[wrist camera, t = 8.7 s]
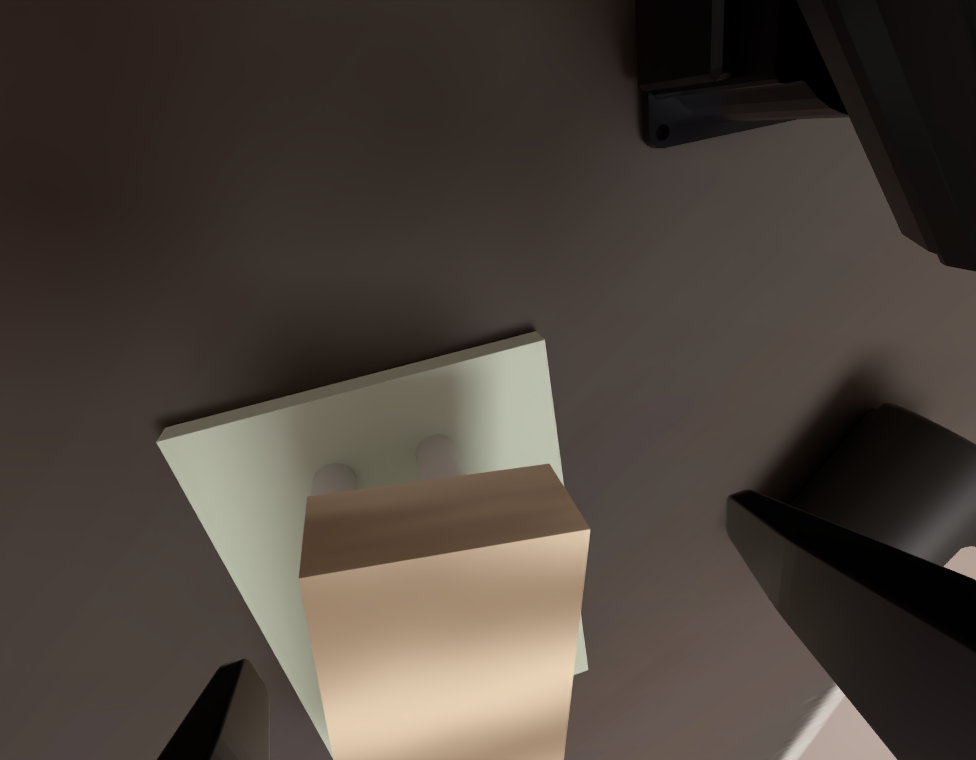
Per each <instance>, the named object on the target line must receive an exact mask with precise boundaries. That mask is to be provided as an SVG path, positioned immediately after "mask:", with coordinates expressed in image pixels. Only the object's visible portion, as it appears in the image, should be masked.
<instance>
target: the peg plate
mask: <svg viewBox="0 0 976 760" xmlns="http://www.w3.org/2000/svg"><path fill="white" fill-rule="evenodd" d="M157 444H158V446H159V448H160V450H161V451H162V453H163V455H164V457H165V459H166V460H167V462H168V464H169V466H170V467H171V469H172V471H173V473H174V475H175V476H176V478H177V480H178V482H179V484H180V485H181V487H182V489H183V491H184V493H185V494H186V496H187V498H188V500H189V502H190V503H191V505H192V507H193V509H194V510H195V512H196V514H197V516H198V518H199V519H200V521H201V523H202V525H203V527H204V528H205V530H206V532H207V534H208V536H209V537H210V539H211V541H212V543H213V544H214V546H215V548H216V550H217V552H218V553H219V555H220V557H221V559H222V561H223V562H224V564H225V566H226V568H227V570H228V571H229V573H230V575H231V577H232V579H233V580H234V582H235V584H236V586H237V587H238V589H239V591H240V593H241V595H242V596H243V598H244V600H245V602H246V604H247V605H248V607H249V609H250V611H251V613H252V614H253V616H254V618H255V620H256V621H257V623H258V625H259V627H260V629H261V630H262V632H263V634H264V636H265V638H266V639H267V641H268V643H269V645H270V647H271V648H272V650H273V652H274V654H275V656H276V657H277V659H278V661H279V663H280V664H281V666H282V668H283V670H284V672H285V673H286V675H287V677H288V679H289V681H290V682H291V684H292V686H293V688H294V690H295V691H296V693H297V695H298V697H299V698H300V700H301V702H302V704H303V706H304V707H305V709H306V711H307V713H308V715H309V716H310V718H311V720H312V722H313V724H314V725H315V727H316V729H317V731H318V733H319V734H320V736H321V738H322V740H323V741H324V743H325V745H326V747H327V749H328V750H329V752H330V754H331V756H332V758H333V755H332V750H331V745H330V740H329V734H328V729H327V724H326V719H325V714H324V708H323V703H322V698H321V693H320V687H319V682H318V677H317V672H316V667H315V661H314V656H313V651H312V646H311V641H310V635H309V630H308V625H307V620H306V615H305V609H304V604H303V599H302V594H301V589H300V583H299V570H300V560H301V551H302V541H303V531H304V522H305V512H306V503H307V497H308V496H315V495H322V494H330V493H337V492H344V491H352V490H359V489H366V488H374V487H381V486H388V485H396V484H403V483H410V482H418V481H425V480H432V479H439V478H447V477H454V476H461V475H469V474H476V473H483V472H491V471H498V470H505V469H513V468H520V467H527V466H535V465H542V464H550V465H551V467H552V468H553V470H554V472H555V473H556V475H557V476H558V478H559V480H560V481H561V483H562V484H563V486H564V483H563V475H562V467H561V460H560V452H559V445H558V437H557V429H556V422H555V414H554V407H553V399H552V391H551V384H550V376H549V369H548V361H547V354H546V346H545V340H544V339H543V338H542V337H541V336H540V335H539V334H538V333H537V332H536V331H535V332H531V333H527V334H523V335H519V336H516V337H512V338H508V339H504V340H500V341H496V342H493V343H489V344H485V345H481V346H477V347H473V348H469V349H466V350H462V351H458V352H454V353H450V354H446V355H443V356H439V357H435V358H431V359H427V360H423V361H419V362H416V363H412V364H408V365H404V366H400V367H396V368H393V369H389V370H385V371H381V372H377V373H373V374H370V375H366V376H362V377H358V378H354V379H350V380H346V381H343V382H339V383H335V384H331V385H327V386H323V387H320V388H316V389H312V390H308V391H304V392H300V393H296V394H293V395H289V396H285V397H281V398H277V399H273V400H270V401H266V402H262V403H258V404H254V405H250V406H247V407H243V408H239V409H235V410H231V411H227V412H223V413H220V414H216V415H212V416H208V417H204V418H200V419H197V420H193V421H189V422H185V423H181V424H177V425H173V426H170V427H166V428H165V429H164V430H163V432H162V434H161V435H160V437H159V439H158V440H157ZM586 670H588V665H587V657H586V650H585V642H584V634H583V627H582V619H581V614H580V623H579V631H578V640H577V649H576V657H575V666H574V674H573V675H575V674H578V673H581V672H584V671H586Z"/></svg>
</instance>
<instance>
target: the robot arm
mask: <svg viewBox="0 0 976 760" xmlns="http://www.w3.org/2000/svg"><path fill="white" fill-rule="evenodd" d="M635 14H636V43H637V72H638V85H639V86H640V88H641V89H642V101H643V133H644V140H645V142H646V144H647V145H648V146H650V147H651V148H666V147H671V146H675V145H680V144H685V143H689V142H694V141H699V140H703V139H708V138H712V137H717V136H722V135H726V134H731V133H736V132H740V131H745V130H750V129H754V128H759V127H764V126H768V125H773V124H777V123H782V122H787V121H791V120H796V119H811V118H838V117H850V120H851V122H852V124H853V126H854V129H855V131H856V133H857V135H858V137H859V140H860V142H861V144H862V146H863V148H864V151H865V153H866V155H867V157H868V159H869V162H870V164H871V166H872V168H873V171H874V173H875V175H876V177H877V179H878V182H879V184H880V186H881V188H882V190H883V193H884V195H885V197H886V199H887V202H888V204H889V206H890V208H891V210H892V213H893V215H894V217H895V219H896V221H897V224H898V226H899V228H900V230H901V232H902V234H903V235H905V236H906V237H908V238H909V239H911V240H912V241H914V242H915V243H917V244H918V245H920V246H921V247H923V248H925V249H926V250H928V251H929V252H932V253H935V254H937V255H938V258H939V260H940V262H941V263H942V264H944V265H946V266H950V267H956V268H961V269H966V270H971V271H976V0H635ZM660 125H661V126H662V128H663V135H662V137H661V138H660V139H658V138H657V137H656V131H657V128H658V127H659V126H660ZM726 531H727V534H728V536H729V538H730V540H731V542H732V543H733V545H734V546H735V548H736V549H737V551H738V552H739V554H740V555H741V557H742V558H743V560H744V561H745V563H746V564H747V566H748V567H749V569H750V570H751V572H752V573H753V575H754V577H755V578H756V580H757V581H758V583H759V584H760V586H761V587H762V589H763V590H764V592H765V593H766V595H767V596H768V598H769V599H770V601H771V602H772V604H773V605H774V606H775V608H776V609H777V611H778V612H779V613H780V615H781V616H782V617H783V619H784V620H785V621H786V622H787V624H788V625H789V626H790V627H791V629H792V630H793V631H794V632H795V634H796V635H797V636H798V637H799V639H800V640H801V641H802V642H803V643H804V645H805V646H806V647H807V648H808V650H809V651H810V652H811V653H812V655H813V656H814V657H815V658H816V660H817V661H818V662H819V663H820V665H821V666H822V667H823V668H824V669H825V671H826V672H827V673H828V674H829V676H830V677H831V678H832V679H833V681H834V682H835V683H836V684H837V686H838V687H839V688H840V689H841V691H842V692H843V693H844V694H845V695H846V697H847V698H848V699H849V700H850V701H851V703H852V704H853V705H854V707H855V708H856V709H857V710H858V712H859V713H860V714H861V715H862V716H863V718H864V719H865V720H866V721H867V723H868V724H869V725H870V726H871V728H872V729H873V730H874V731H875V733H876V734H877V735H878V736H879V737H880V739H881V740H882V741H883V742H884V744H885V745H886V746H887V747H888V749H889V750H890V751H891V752H892V754H893V755H894V756H895V757H896V759H897V760H976V580H975V579H972V578H970V577H967V576H965V575H962V574H960V573H957V572H955V571H952V570H950V569H947V568H945V567H942V566H940V565H937V564H935V563H932V562H930V561H927V560H925V559H922V558H920V557H917V556H915V555H912V554H910V553H907V552H905V551H902V550H900V549H897V548H895V547H892V546H890V545H887V544H885V543H882V542H880V541H877V540H875V539H872V538H870V537H867V536H865V535H862V534H860V533H857V532H855V531H852V530H850V529H847V528H845V527H842V526H840V525H837V524H835V523H832V522H830V521H827V520H825V519H822V518H820V517H817V516H815V515H812V514H810V513H807V512H805V511H802V510H800V509H797V508H795V507H792V506H790V505H787V504H785V503H782V502H780V501H777V500H775V499H772V498H770V497H767V496H765V495H762V494H760V493H757V492H755V491H752V490H743V491H740V492H737V493H734V494H731V495H729V496H728V498H727V501H726ZM157 760H269V693H268V689H267V686H266V684H265V682H264V681H263V679H262V678H261V676H260V675H259V673H258V672H257V670H256V669H255V667H254V666H253V664H252V663H251V661H250V660H249V659H247V658H241V659H238V660H235V661H232V662H229V663H226V664H224V665H222V666H221V667H220V668H219V669H218V670H217V671H216V673H215V674H214V676H213V677H212V679H211V680H210V682H209V683H208V684H207V686H206V687H205V689H204V690H203V692H202V693H201V695H200V696H199V698H198V699H197V701H196V702H195V704H194V705H193V707H192V708H191V710H190V711H189V713H188V714H187V716H186V717H185V719H184V720H183V721H182V723H181V724H180V726H179V727H178V729H177V730H176V732H175V733H174V735H173V736H172V738H171V739H170V741H169V742H168V744H167V745H166V747H165V748H164V750H163V751H162V753H161V754H160V756H159V757H158V758H157Z"/></svg>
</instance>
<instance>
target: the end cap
mask: <svg viewBox="0 0 976 760" xmlns="http://www.w3.org/2000/svg"><path fill="white" fill-rule="evenodd" d="M790 506H792V507H795V508H797V509H800V510H802V511H805V512H807V513H810V514H812V515H815V516H817V517H820V518H822V519H825V520H827V521H830V522H832V523H835V524H837V525H840V526H842V527H845V528H847V529H850V530H852V531H855V532H857V533H860V534H862V535H865V536H867V537H870V538H872V539H875V540H877V541H880V542H882V543H885V544H887V545H890V546H892V547H895V548H897V549H900V550H902V551H905V552H907V553H910V554H912V555H915V556H917V557H920V558H922V559H925V560H927V561H930V562H932V563H935V564H937V565H940V566H942V567H943V566H944V565H945V564H946V563H947V562H948V561H949V560H950V559H951V558H952V557H953V556H954V555H955V554H956V553H957V552H958V551H959V550H960V549H961V548H964V547H968V546H975V547H976V444H974V443H972V442H971V441H969V440H967V439H965V438H963V437H961V436H960V435H958V434H956V433H954V432H952V431H950V430H948V429H946V428H944V427H942V426H941V425H939V424H937V423H935V422H933V421H931V420H929V419H927V418H925V417H922V416H920V415H918V414H916V413H914V412H912V411H909V410H907V409H905V408H902V407H900V406H897V405H894V404H891V403H884V404H882V405H880V406H879V408H878V409H875V408H874V409H871V410H870V411H869V412H868V414H867V415H866V416H865V417H864V418H863V419H862V421H861V422H860V423H859V424H858V425H857V426H856V428H855V429H854V430H853V431H852V432H851V434H850V435H849V436H848V437H847V438H846V439H845V441H844V442H843V443H842V444H841V445H840V446H839V448H838V449H837V450H836V451H835V452H834V454H833V455H832V456H831V457H830V458H829V459H828V461H827V462H826V463H825V464H824V465H823V467H822V468H821V469H820V470H819V471H818V472H817V474H816V475H815V476H814V477H813V478H812V479H811V481H810V482H809V483H808V484H807V485H806V487H805V488H804V489H803V490H802V491H801V492H800V494H799V495H798V496H797V497H796V498H795V499H794V501H793V502H792V503H791V504H790Z"/></svg>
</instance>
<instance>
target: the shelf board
mask: <svg viewBox="0 0 976 760" xmlns="http://www.w3.org/2000/svg"><path fill="white" fill-rule="evenodd" d="M589 537H590V528H589V526H588V524H587V523H586V521H585V520H584V518H583V516H582V515H581V513H580V512H579V510H578V508H577V507H576V505H575V504H574V502H573V500H572V499H571V497H570V496H569V494H568V492H567V491H566V489H565V488H564V486H563V484H562V483H561V481H560V480H559V478H558V476H557V475H556V473H555V472H554V470H553V468H552V467H551V465H550V464H542V465H535V466H527V467H520V468H513V469H505V470H498V471H491V472H483V473H476V474H469V475H461V476H454V477H447V478H439V479H432V480H425V481H418V482H410V483H403V484H396V485H388V486H381V487H374V488H366V489H359V490H352V491H344V492H337V493H330V494H322V495H315V496H308V497H307V503H306V512H305V522H304V531H303V541H302V551H301V560H300V570H299V583H300V589H301V594H302V599H303V604H304V609H305V615H306V620H307V625H308V630H309V635H310V641H311V646H312V651H313V656H314V661H315V667H316V672H317V677H318V682H319V687H320V693H321V698H322V703H323V708H324V714H325V719H326V724H327V729H328V734H329V740H330V745H331V750H332V755H333V760H564V751H565V743H566V734H567V726H568V717H569V708H570V700H571V691H572V683H573V674H574V666H575V657H576V649H577V640H578V631H579V623H580V614H581V606H582V597H583V589H584V580H585V572H586V563H587V554H588V546H589Z"/></svg>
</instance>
